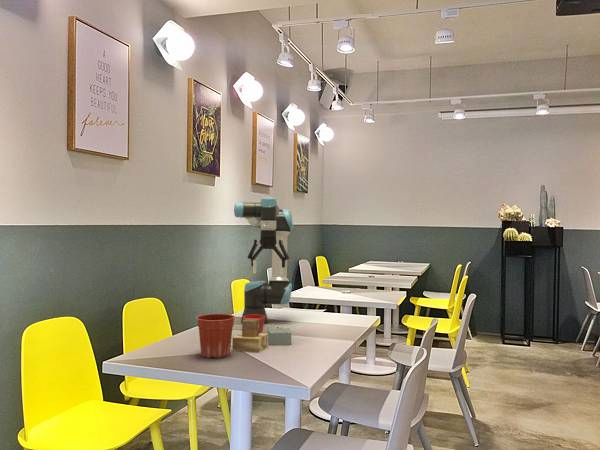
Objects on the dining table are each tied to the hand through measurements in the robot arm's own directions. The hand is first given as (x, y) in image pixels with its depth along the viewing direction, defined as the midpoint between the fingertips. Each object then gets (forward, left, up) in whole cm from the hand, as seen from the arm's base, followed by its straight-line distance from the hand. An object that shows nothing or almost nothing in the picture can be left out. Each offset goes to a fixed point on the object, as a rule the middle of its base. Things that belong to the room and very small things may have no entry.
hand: (268, 274), depth 241 cm
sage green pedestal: (+3, +7, -32) cm, 33 cm away
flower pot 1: (+32, -12, -32) cm, 47 cm away
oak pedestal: (+17, -2, -32) cm, 36 cm away
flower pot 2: (-8, -10, -32) cm, 34 cm away
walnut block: (+17, -2, -26) cm, 31 cm away
